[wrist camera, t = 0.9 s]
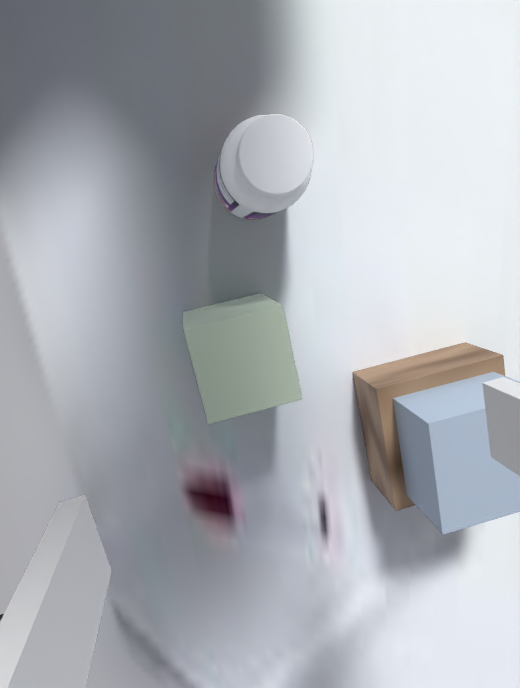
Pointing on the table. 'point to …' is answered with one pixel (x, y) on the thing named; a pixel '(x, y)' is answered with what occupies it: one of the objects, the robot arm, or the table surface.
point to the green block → (241, 356)
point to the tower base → (404, 379)
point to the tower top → (453, 456)
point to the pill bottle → (263, 166)
